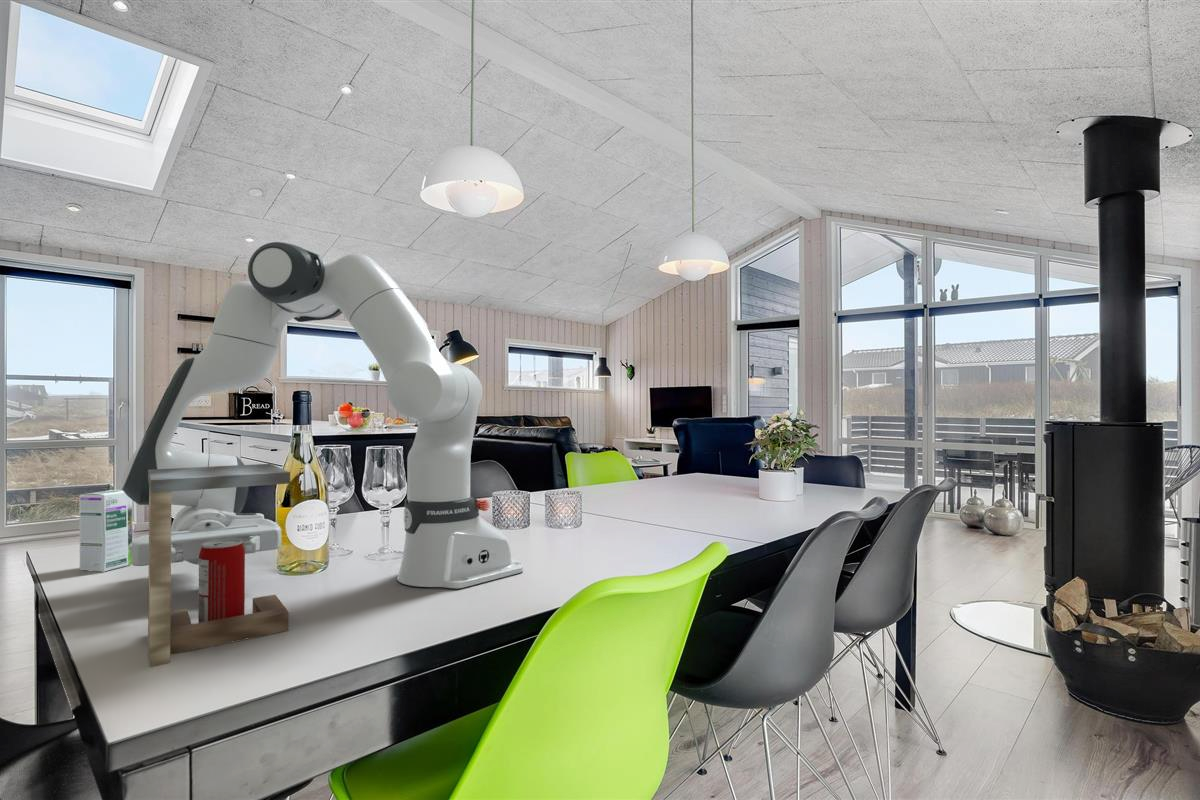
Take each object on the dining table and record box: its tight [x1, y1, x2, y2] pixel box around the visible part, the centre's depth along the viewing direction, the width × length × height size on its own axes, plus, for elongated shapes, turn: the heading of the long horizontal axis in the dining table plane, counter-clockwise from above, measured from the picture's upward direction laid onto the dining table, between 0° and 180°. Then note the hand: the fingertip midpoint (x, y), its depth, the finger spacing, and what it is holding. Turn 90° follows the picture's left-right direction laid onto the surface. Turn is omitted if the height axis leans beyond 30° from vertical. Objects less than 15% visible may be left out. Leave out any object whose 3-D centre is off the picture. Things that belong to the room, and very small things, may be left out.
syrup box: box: [78, 489, 133, 573], centre depth 117 cm, size 6×6×14 cm
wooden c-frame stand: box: [147, 463, 291, 668], centre depth 83 cm, size 15×15×22 cm
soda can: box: [197, 539, 246, 623], centre depth 86 cm, size 6×6×12 cm
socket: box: [170, 594, 290, 655], centre depth 84 cm, size 14×10×2 cm
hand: (215, 552), depth 93 cm, fingers open, 8 cm apart
